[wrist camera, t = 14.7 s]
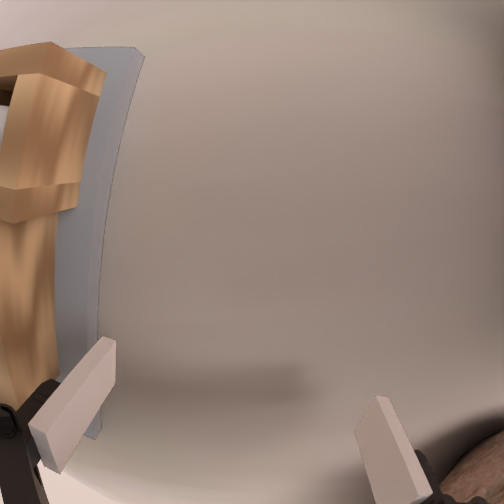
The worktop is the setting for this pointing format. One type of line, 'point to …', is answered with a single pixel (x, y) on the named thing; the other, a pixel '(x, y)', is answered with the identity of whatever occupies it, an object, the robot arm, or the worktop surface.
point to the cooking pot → (479, 473)
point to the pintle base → (89, 212)
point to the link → (37, 200)
